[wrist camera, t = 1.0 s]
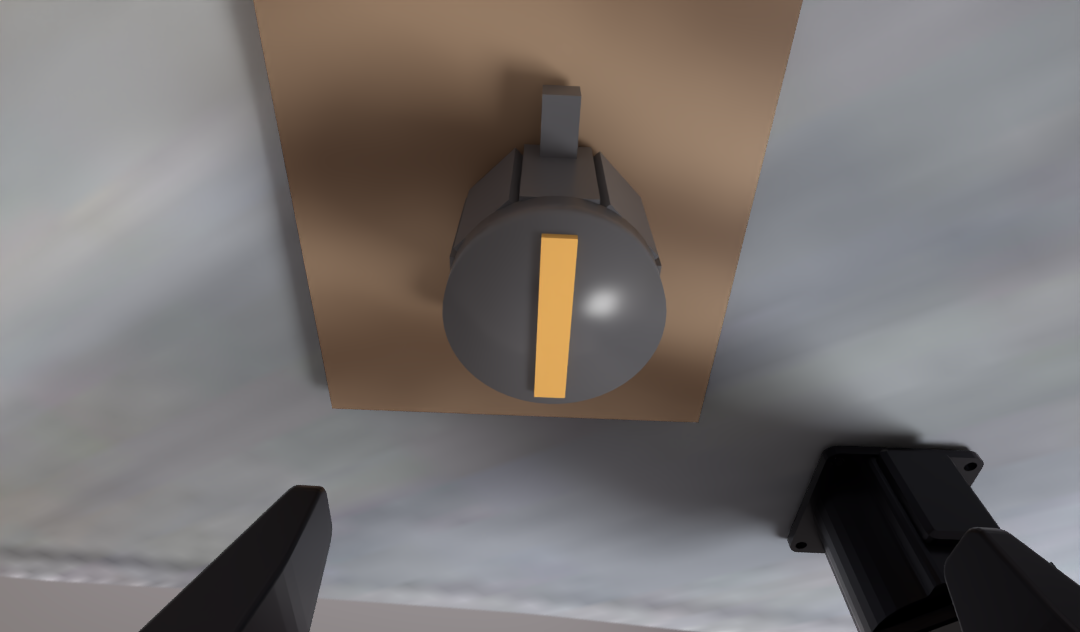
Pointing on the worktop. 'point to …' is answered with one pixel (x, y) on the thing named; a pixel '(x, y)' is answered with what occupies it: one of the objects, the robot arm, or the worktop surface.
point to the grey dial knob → (554, 270)
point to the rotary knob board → (489, 136)
